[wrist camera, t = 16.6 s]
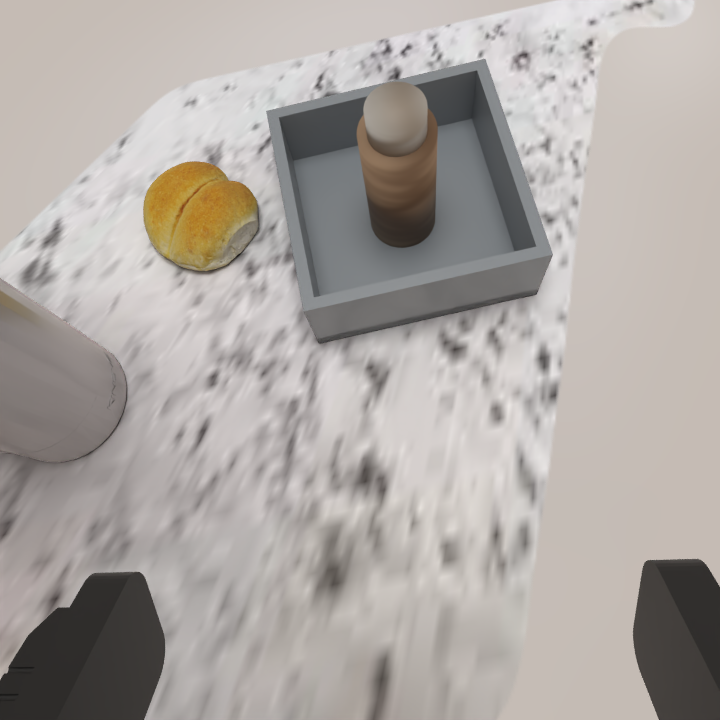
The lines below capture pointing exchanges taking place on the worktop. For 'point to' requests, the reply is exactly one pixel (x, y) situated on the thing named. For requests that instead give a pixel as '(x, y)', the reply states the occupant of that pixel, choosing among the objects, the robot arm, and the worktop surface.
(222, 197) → the bread roll
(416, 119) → the pepper mill
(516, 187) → the bin
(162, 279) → the worktop surface
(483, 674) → the worktop surface
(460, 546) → the worktop surface
